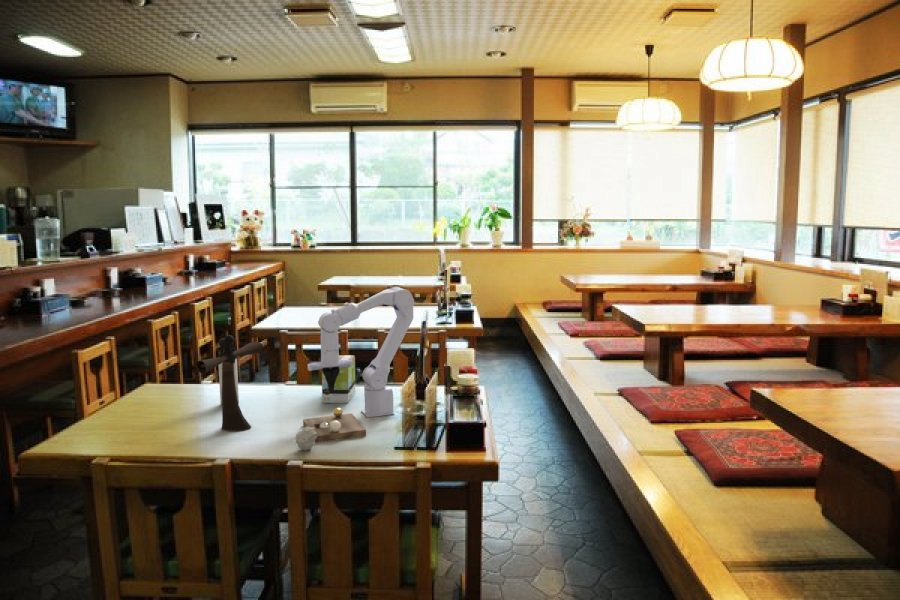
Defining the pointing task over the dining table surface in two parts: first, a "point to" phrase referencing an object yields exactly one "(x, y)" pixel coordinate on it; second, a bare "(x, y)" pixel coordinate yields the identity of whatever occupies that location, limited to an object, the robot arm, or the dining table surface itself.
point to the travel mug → (234, 376)
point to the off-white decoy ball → (335, 426)
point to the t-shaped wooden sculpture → (230, 381)
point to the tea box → (340, 384)
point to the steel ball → (324, 425)
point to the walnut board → (347, 430)
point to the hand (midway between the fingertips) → (331, 389)
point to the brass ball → (337, 412)
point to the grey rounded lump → (306, 438)
